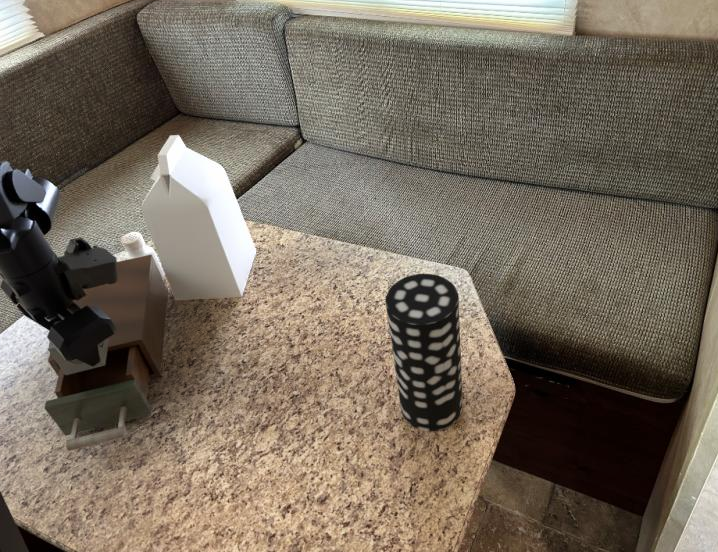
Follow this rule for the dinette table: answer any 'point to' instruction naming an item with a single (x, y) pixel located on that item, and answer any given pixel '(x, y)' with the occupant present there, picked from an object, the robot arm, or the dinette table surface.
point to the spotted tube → (426, 349)
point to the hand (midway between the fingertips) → (84, 351)
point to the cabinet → (133, 310)
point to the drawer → (102, 398)
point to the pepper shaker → (138, 248)
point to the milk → (197, 225)
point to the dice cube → (77, 365)
